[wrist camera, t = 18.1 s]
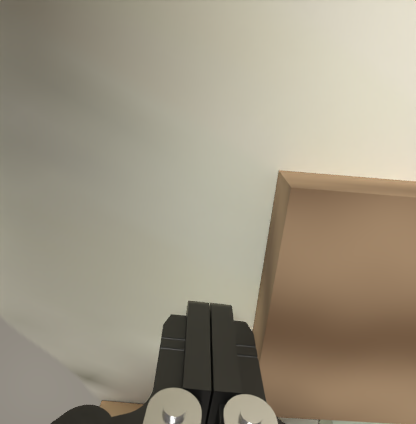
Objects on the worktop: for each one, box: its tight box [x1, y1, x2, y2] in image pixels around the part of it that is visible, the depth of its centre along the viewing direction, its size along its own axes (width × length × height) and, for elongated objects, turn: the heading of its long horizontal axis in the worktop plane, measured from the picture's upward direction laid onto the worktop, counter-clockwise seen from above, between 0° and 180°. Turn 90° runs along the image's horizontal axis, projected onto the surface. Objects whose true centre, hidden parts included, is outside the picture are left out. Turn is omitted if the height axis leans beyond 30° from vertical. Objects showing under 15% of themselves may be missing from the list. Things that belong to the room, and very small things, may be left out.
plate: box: [253, 171, 416, 424], centre depth 14 cm, size 10×10×2 cm
